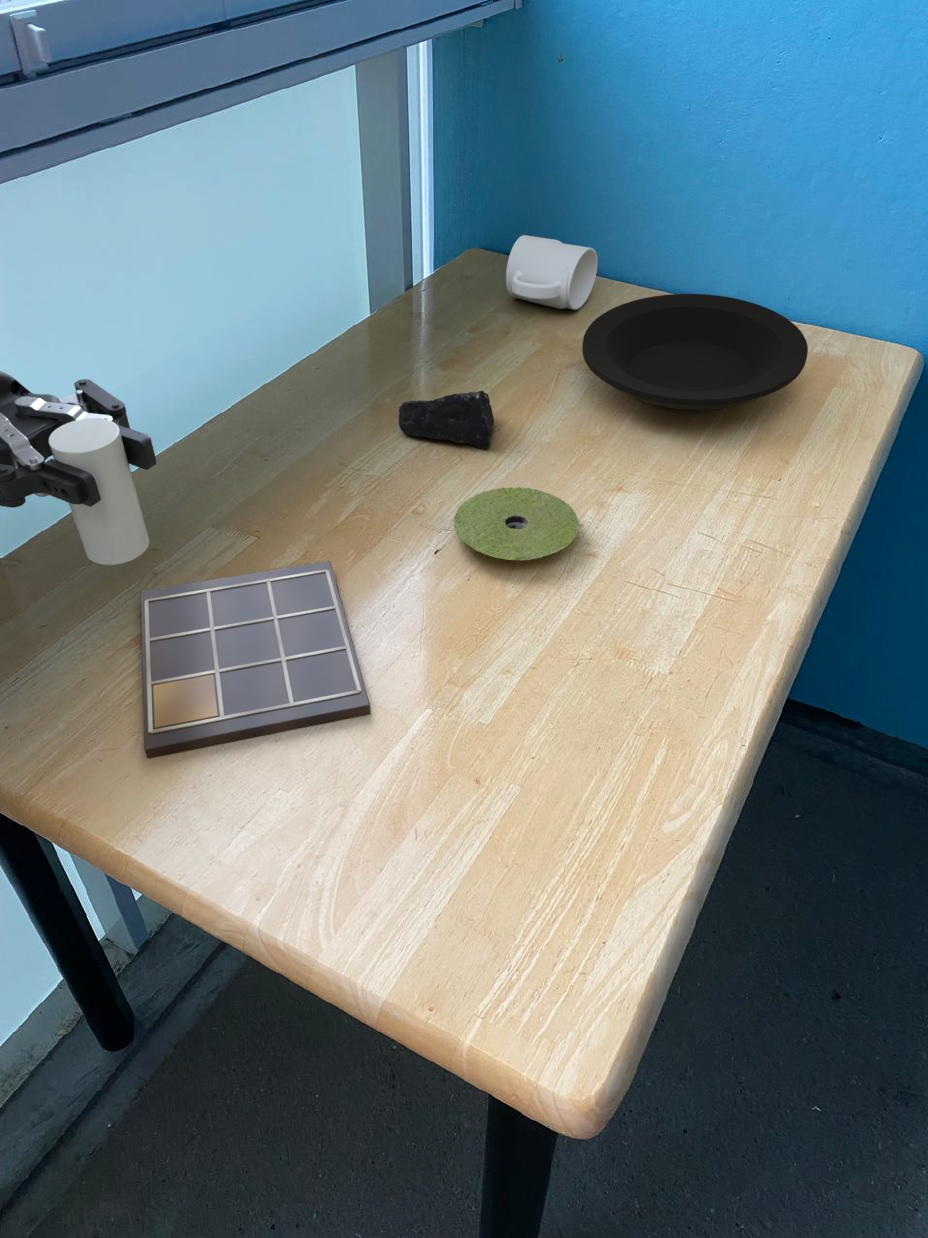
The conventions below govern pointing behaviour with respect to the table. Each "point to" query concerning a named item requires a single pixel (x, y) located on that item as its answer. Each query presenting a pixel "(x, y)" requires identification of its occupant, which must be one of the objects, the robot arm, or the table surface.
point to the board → (246, 658)
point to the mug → (551, 272)
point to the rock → (450, 418)
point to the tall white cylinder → (103, 490)
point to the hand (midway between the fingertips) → (122, 472)
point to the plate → (694, 350)
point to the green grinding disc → (516, 523)
